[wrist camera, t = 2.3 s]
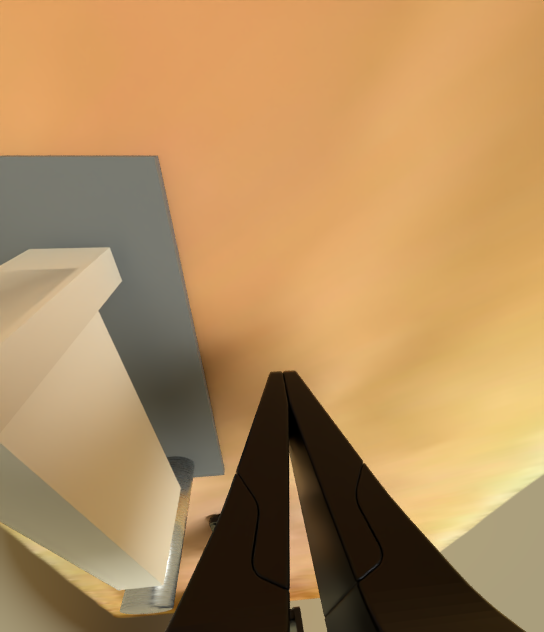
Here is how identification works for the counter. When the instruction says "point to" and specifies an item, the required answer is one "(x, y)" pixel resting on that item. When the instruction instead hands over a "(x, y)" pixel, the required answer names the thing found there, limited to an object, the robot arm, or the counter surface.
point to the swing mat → (123, 279)
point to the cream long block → (78, 424)
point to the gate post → (164, 595)
